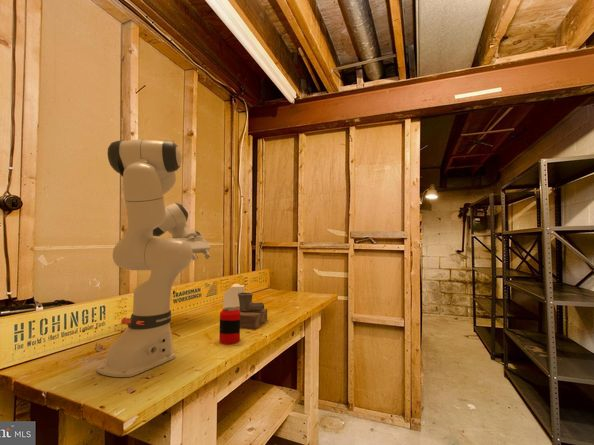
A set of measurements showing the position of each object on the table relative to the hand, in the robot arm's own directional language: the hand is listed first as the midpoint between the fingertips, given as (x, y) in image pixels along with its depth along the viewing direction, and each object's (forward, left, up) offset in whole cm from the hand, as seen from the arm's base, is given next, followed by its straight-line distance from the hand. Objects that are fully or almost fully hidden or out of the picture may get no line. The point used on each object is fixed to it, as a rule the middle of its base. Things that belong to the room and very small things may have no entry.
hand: (202, 258), depth 133 cm
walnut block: (+7, -18, -30) cm, 36 cm away
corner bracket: (+34, +3, -30) cm, 45 cm away
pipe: (+8, -21, -24) cm, 33 cm away
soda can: (-15, -23, -30) cm, 41 cm away
